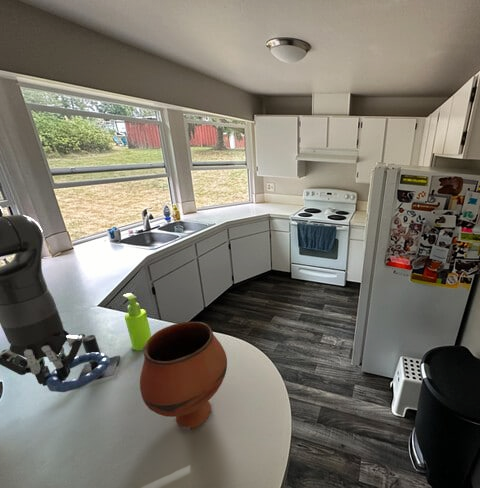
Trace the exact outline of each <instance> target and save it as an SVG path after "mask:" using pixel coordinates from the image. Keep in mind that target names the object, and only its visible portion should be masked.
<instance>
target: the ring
mask: <svg viewBox="0 0 480 488" xmlns="http://www.w3.org/2000/svg"><path fill="white" fill-rule="evenodd" d="M110 358H111V357H109V356H108V355H107V354H106V353H105V352H100V353H96V352H92V353H88V354H86V353H84V354H80V355H79V354H78V355H76V357H75V359H74V360H73V362H72V363H70V364H68V365H69V368H70V370H71V369H73V368H75V367H77V366H80V365H82V364H87V363H89V362H90V361H94V362H98V366H97V367H96V368H95V369H94V370H93V371H91V372H90V373H88V374H87V375H85V376H83V377H81V378H79V377H78V378H79V379H78V378H75V379H71V380H68V381H67V380H65V381H61V380H60V379H59V377H58V375H57V372H56V368H55V369H53V370H52V371H51V372H50V373H51V374H50V376H49V377H48V379H47V381H46V387H47V389H48V390H49V392H55V393H67V392H71V391H74V390H75V391H76V390H78V389H82V388H83V387H85V386H87V385H89V384H91V383H92V382H94V381H97V380H98V379H97V378H98V377H99V376H100V375H102V374H103V373H104V372H105V371H106V370H107V368H108V365H109V362H110ZM96 379H97V380H96Z"/></svg>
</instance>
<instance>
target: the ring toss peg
mask: <svg viewBox="0 0 480 488" xmlns="http://www.w3.org/2000/svg"><path fill="white" fill-rule="evenodd" d="M82 346H83V349H84V352H85V354H88V353H92V352H96V353H101V349H100V347H99V344H98V341H97V337H96V335H94V334H89V335H85V337H84V340H83V342H82ZM109 358H110V362H109V365H108V368H107V370H106V371H105V372H104V373H103V374H102V375H100V376H99V377H98V378H97V379H96V380H95V381H98V380H100V379H104V378H108V377H111V376H114V375H115V371H116V368H117V367H118V366H119V363H120V361H121V355H115V356H110V357H109ZM97 366H98V362H94V361H90V362H86V363H84V365H83V368H82V370H81V371H80V373H79V376H78V378H77V379H79V378H81V377H83V376H85V375H87V374H88V373H90V372H91V371H93V370H94V369H95V368H96V367H97Z"/></svg>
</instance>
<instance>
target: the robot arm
mask: <svg viewBox="0 0 480 488" xmlns="http://www.w3.org/2000/svg"><path fill="white" fill-rule="evenodd" d="M43 246H44V232H43V229H42V228H41V226H40V224H39V223H38V222H37V221H36V220H35V219H33V218H31V217H29V216H27V215H24V214H11V215H4V211H3V208H2V207H1V206H0V258H3V257H8V256H12V255H14V257H13V259H11V261H10V262H8V263H6V264H4V265H1V266H0V326H1V328H2V331H3V334H4V335H5V338H6V340H7V342H8V343H9V344H10V345H9V348H8V349H3V350H2V351H1V352H0V366H2V367H4V368H6V369H8V370H10V371H12V372H14V373H15V374H17V375H19V376H25V375H27V374H32V375H34V376H35V378H36V381H37V383H38V384H39V385H42V386H43V387H47V385H46V381H47V379H48V377H49V376H50V374H51V373H52V372H50V371H51V370H50V369H49V365H46V361H45V358H47V359H48V361H49V362H50V363H52V364H53V366H54V367H55V369H56V372H57V375H58V377H59V379H60V380H61V381H67V378H68V377H69V376H70V374H71V369H70V368H69V365H68V364H70V363H72V362H73V360H74V359H75V357H77V356H78V353H79V350H80V348H81V347H82V345H83V343H82V342H83V340H84V337H86V334H84V333H79V334H78V335H71V334H70V333H69V332H68V331H67V330H66V329H65V328H64V324H63V321H62V319H61V315H60V313H59V310H58V307H57V304H56V301H55V299H54V297H53V295H52V293H51V292H50V290H49V288H48V285H47V282H46V279H45V277H44V273H43V263H42V261H43V259H42V257H43V249H44V247H43ZM66 342H67V343H68V346H69V348H71V349H70V351H69V352H68V354H66V352H65V347H64V345H65V343H66Z"/></svg>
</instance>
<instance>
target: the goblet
mask: <svg viewBox="0 0 480 488" xmlns="http://www.w3.org/2000/svg"><path fill="white" fill-rule="evenodd" d="M143 356H144V361H143V364H142V367H141V372H140V375H139V376H140V377H139V391H140V395H141V398H142V401H143V403H144V404H145V405H146V407H147V408H148V409H149V410H150V411H151V412H153V413H155V414H157V415H159V416H162V417H171V418H173V417H175V422H176V424H177V425H179V426H180V427H183V428H189V427H190V430H193V429H195V428H197V427H199V426H202V425H203V423H205V421H206V420H207V419H208V417H209V416H210V415H211V410H212V406H211V402H210V400H211V399H213V396H215V394H216V393H217V392H218V390H219V388H221V386H222V384H223V381H224V379H225V376H226V374H227V369H228V357H227V353H226V350H225V349H224V346H223V345H222V344H221V342H220V341H219V339H218V338H217V337H216V336H215V334H214V332H213V329H212V328H211V327H210V326H209V324H208V323H205V322H201V321H183V322H178V323H174V324H170V325H168V326H165V327H163V328H161V329H159V330H157V331H156V332H155V333H153V334H151V338H150V339H149V340H148V341H147V343H146V344H145V346H144V349H143Z"/></svg>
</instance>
